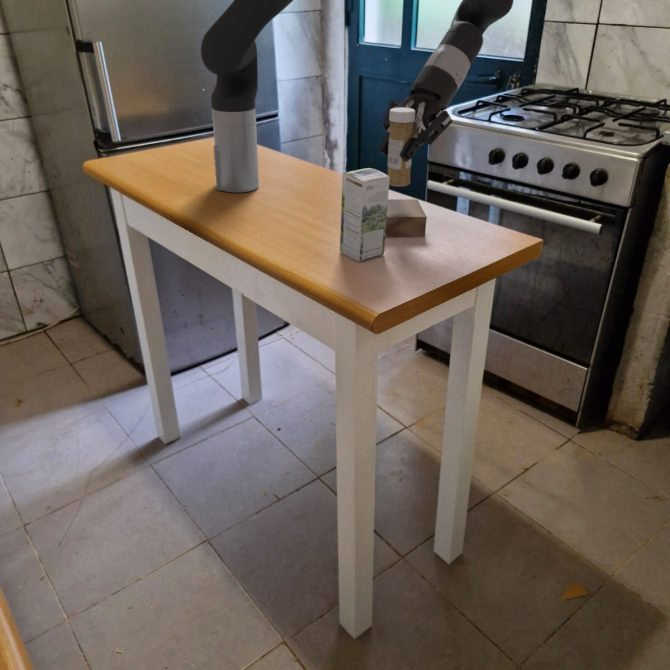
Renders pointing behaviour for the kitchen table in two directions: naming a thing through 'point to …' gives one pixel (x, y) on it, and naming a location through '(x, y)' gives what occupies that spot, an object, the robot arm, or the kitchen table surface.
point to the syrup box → (364, 213)
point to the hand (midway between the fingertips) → (393, 155)
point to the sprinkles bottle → (399, 145)
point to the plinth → (405, 218)
